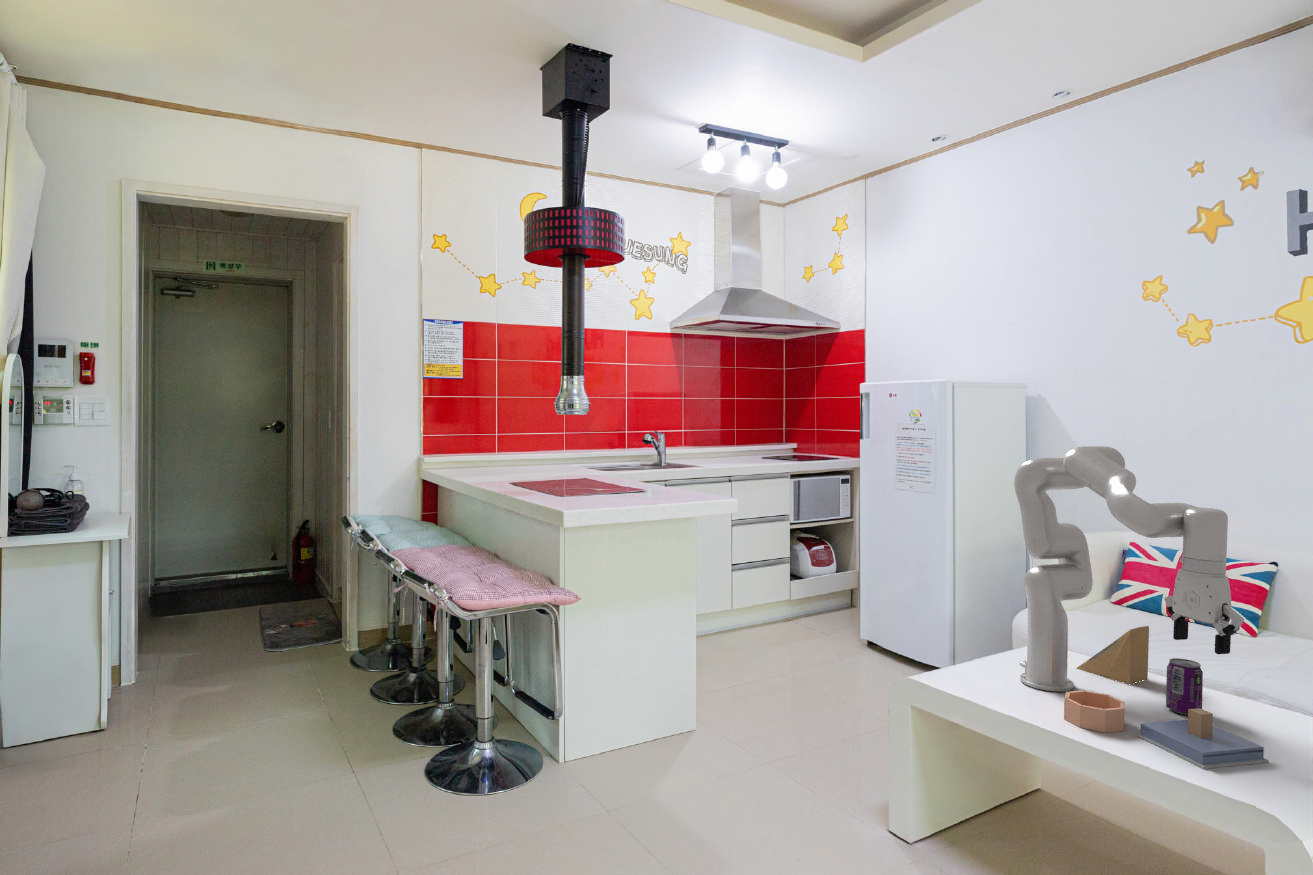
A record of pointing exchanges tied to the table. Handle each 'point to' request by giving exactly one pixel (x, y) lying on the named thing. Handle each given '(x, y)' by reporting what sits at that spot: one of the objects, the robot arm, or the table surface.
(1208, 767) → the mat
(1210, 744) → the cover
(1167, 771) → the table surface
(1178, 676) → the beverage can
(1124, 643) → the sandwich container
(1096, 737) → the table surface
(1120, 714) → the bowl
